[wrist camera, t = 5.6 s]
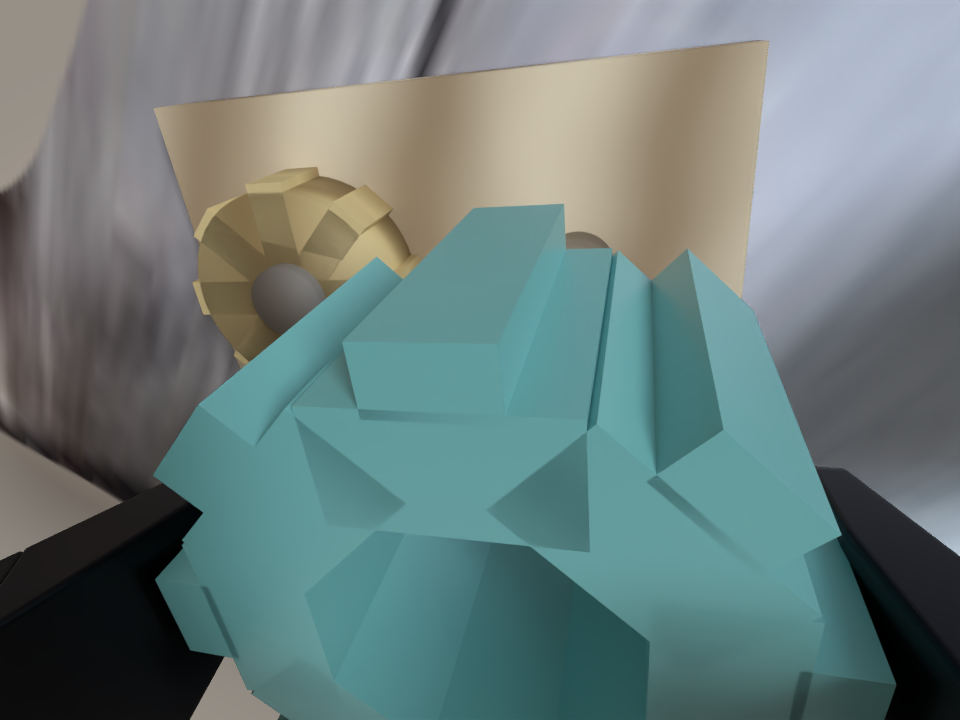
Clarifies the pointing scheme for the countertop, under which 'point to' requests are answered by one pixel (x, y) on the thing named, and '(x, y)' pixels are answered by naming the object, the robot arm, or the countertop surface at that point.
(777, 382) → the teal gear
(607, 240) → the gear board
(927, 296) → the countertop surface
